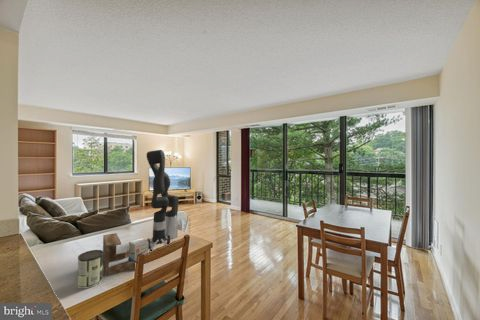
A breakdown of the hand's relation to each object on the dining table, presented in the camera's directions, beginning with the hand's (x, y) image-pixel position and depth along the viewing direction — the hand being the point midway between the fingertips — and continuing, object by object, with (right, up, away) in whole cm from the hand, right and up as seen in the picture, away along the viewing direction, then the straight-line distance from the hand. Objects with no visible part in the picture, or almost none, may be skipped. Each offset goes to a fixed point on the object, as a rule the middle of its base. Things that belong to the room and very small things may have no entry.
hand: (158, 253), depth 135 cm
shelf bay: (-17, -1, -12) cm, 21 cm away
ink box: (-10, -2, -7) cm, 12 cm away
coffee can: (-22, -1, -31) cm, 38 cm away
